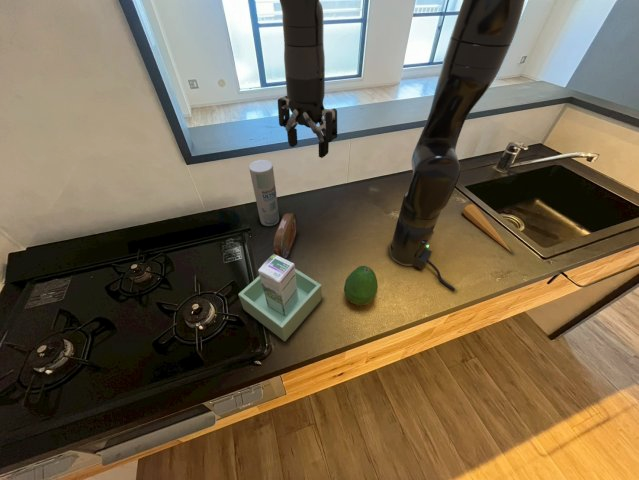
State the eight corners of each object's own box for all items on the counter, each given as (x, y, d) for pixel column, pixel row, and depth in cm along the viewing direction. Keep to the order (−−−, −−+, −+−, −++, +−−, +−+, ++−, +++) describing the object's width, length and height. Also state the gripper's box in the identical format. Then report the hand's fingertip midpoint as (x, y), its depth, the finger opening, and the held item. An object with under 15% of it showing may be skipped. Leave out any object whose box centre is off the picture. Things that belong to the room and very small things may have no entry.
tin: (284, 264, 78) (281, 243, 72) (274, 262, 79) (270, 242, 73) (298, 228, 89) (296, 207, 83) (288, 227, 89) (286, 206, 83)
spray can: (266, 229, 88) (256, 174, 74) (256, 218, 92) (244, 164, 78) (283, 220, 91) (277, 166, 77) (272, 211, 95) (264, 157, 81)
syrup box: (299, 299, 70) (295, 261, 59) (285, 317, 66) (279, 281, 56) (280, 289, 72) (274, 251, 61) (266, 307, 68) (256, 269, 58)
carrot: (459, 214, 95) (460, 206, 91) (471, 207, 94) (473, 199, 91) (503, 259, 83) (506, 252, 79) (517, 252, 83) (521, 245, 79)
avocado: (372, 315, 67) (379, 286, 59) (340, 307, 69) (343, 278, 60) (376, 289, 72) (384, 258, 64) (346, 282, 74) (350, 251, 65)
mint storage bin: (321, 300, 70) (321, 284, 65) (284, 341, 63) (282, 327, 58) (281, 274, 76) (278, 258, 71) (243, 309, 68) (237, 294, 64)
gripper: (263, 69, 54) (274, 148, 65) (324, 83, 48) (323, 167, 59) (289, 61, 58) (294, 136, 70) (347, 73, 52) (342, 153, 64)
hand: (307, 150), depth 64 cm, fingers open, 8 cm apart
